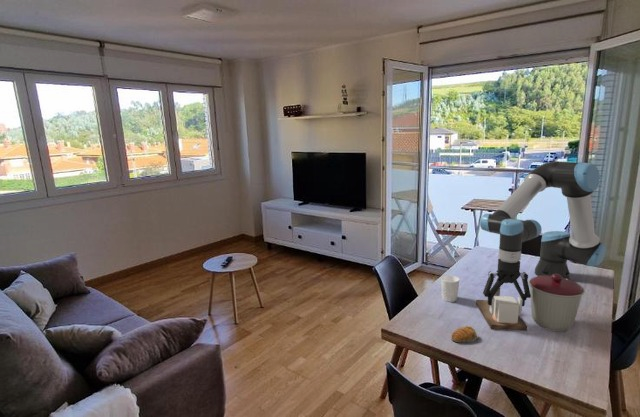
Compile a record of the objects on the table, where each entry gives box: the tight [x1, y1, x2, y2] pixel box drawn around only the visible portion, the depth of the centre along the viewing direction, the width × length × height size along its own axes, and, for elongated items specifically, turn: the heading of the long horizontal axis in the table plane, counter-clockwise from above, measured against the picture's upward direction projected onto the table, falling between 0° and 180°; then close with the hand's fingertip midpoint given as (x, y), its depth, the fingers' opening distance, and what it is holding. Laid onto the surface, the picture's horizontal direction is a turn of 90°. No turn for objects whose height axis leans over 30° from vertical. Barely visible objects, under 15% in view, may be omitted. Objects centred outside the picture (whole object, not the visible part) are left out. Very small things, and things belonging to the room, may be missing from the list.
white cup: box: [440, 274, 460, 303], centre depth 164 cm, size 8×8×10 cm
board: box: [475, 287, 528, 332], centre depth 147 cm, size 13×21×10 cm, turn 172°
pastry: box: [451, 325, 478, 344], centre depth 134 cm, size 9×7×4 cm
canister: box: [528, 274, 586, 332], centre depth 139 cm, size 18×18×21 cm
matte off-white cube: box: [493, 295, 519, 323], centre depth 142 cm, size 7×7×8 cm
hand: (505, 312), depth 142 cm, fingers open, 9 cm apart
